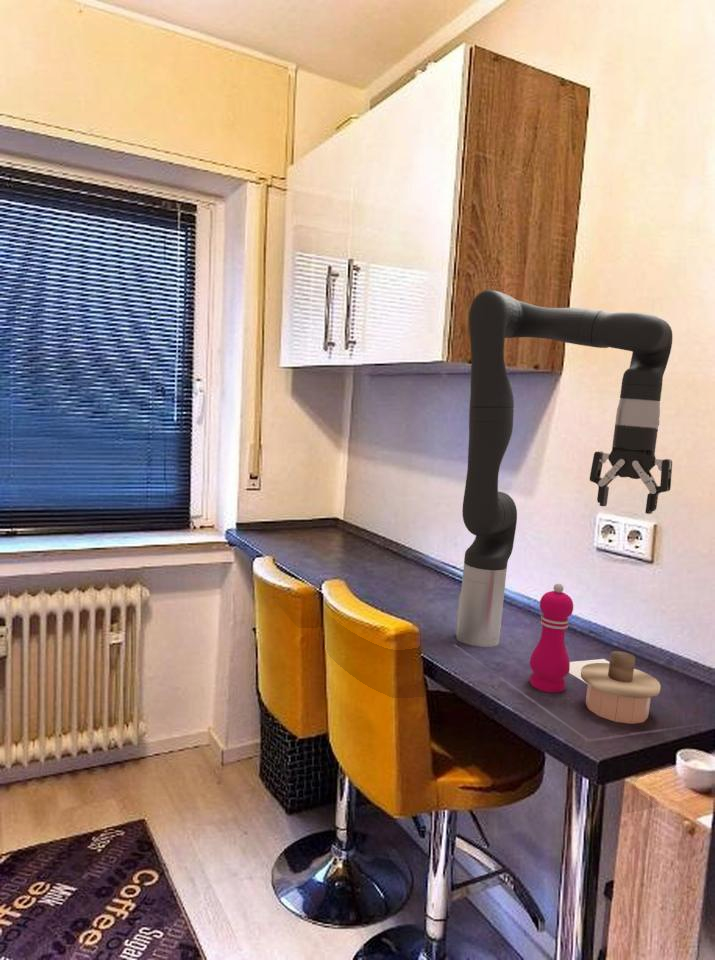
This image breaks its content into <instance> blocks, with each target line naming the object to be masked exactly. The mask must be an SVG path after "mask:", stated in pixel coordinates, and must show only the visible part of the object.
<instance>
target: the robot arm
mask: <svg viewBox="0 0 715 960" xmlns="http://www.w3.org/2000/svg"><path fill="white" fill-rule="evenodd" d="M470 304H471V305H470V307H469V313H468V328H469V329H468V330H469V341H470V343H469V344H470V362H471V363H470V364H471V365H470V396H469V409H468V410H469V411H468V413H469V415H468V416H469V417H468V419H469V420H468V449H467V450H468V452H467V470H466V477H465V478H466V480H465V484H464V485H465V487H464V492H463V493H464V494H463V501H462V520H463V521H462V522H463V523H464V525H465V528H466V529H467V530H468V532H469V533H471V534H472V535H473V536H475V538H474V540H473V542H472V544H470V546H469V547H468V548H466V550H465V552H464V561H463V562H464V563H463V569H462V570H463V571H462V582H461V589H460V590H461V591H460V593H459V595H458V604H457V611H456V612H457V615H456V624H455V632H454V633H455V635H456V640H457V641H458V642H460V643H463V644H465V645H469V646H472V647H477V648H493V647H496V646H498V645H499V643H500V635H501V627H502V626H501V625H502V617H503V608H504V598H505V592H506V591H505V588H506V581H507V569H508V562H509V559H510V557H511V555H512V553H513V548H514V542H515V537H516V536H515V535H516V529H517V521H518V510H517V505H516V503H515V500H514V499H513V498H512V497H511V496H510V495H509V494H508V493H506V492H502V491H499V471H500V466H501V464H502V461H503V458H504V456H505V455H506V451H507V449H508V446H509V443H510V441H511V439H512V434H513V428H514V411H515V409H514V408H515V406H514V405H515V402H514V394H513V390H512V387H511V383H510V379H509V375H508V371H507V368H506V364H505V353H504V350H505V339H510V338H511V339H513V338H514V339H515V338H516V339H517V338H537V339H538V338H539V339H547V340H553V341H557V342H561V343H566V344H572V345H579V346H584V347H590V348H591V347H592V348H597V349H607V348H612V349H617V350H622V351H628V352H632V355H631V358H630V363H629V367H628V368H627V369H626V370H625V371H624V373H623V375H622V381H621V388H620V396H619V400H618V401H619V402H618V406H617V409H616V415H615V420H614V421H615V423H614V430H613V438H612V439H613V440H612V445H611V446H612V447H611V448H612V449H611V451H610V453H608V452H604V451H600V450H599V451H594V453H593V457H592V458H593V459H592V464H591V468H590V469H591V470H590V475H589V481H590V482H591V483H594V484H596V485H597V486H598V491H597V498H596V501H597V503H599V506H600V507H607V505H608V498H609V489H610V487H609V484H611V482H613V481H614V480H615V479H616V478H618V477H620V478H630V479H632V480H633V479H634V480H639V479H641V482H642V483H643V485H644V486H646V489H647V490H648V494H647V498H646V504H645V512H644V513H645V514H647V515H651V514H653V512H655V511H656V510H657V507H658V506H657V505H658V500H659V494H661V493H665V492H670V491H671V487H672V473H673V460H672V459H671V458H669V459H668V458H665V459H658V458H656V455H655V453H656V446H657V438H658V431H659V426H660V421H661V420H660V418H661V417H660V415H661V407H660V405H661V397H662V389H663V378H664V376H665V375H664V373H665V371H666V368H667V365H668V362H669V358H670V354H671V351H672V346H673V331H672V327H671V326H670V324H669V322H668V321H666V320H664V319H662V318H660V317H658V316H656V315H653V314H651V313H644V312H643V313H642V312H633V311H632V312H631V311H629V312H627V311H626V312H621V311H620V312H619V311H618V312H615V311H614V312H613V311H609V310H603V309H595V308H593V309H592V308H585V307H544V306H539V305H534V304H530V303H527V302H524V301H520V300H518V299H515V298H514V297H513V296H511V295H509V294H505V293H504V292H501V291H498V290H492V289H487V290H483V291H481V292H479V293H478V294H477V295H476V296H475V297H474V299H473V300H472V302H471V303H470ZM607 460H608V461H609V463H610V465H611V466H612V467H611V468H610V469H609V470H608V471H607V472H606V473H605V475H604V476H603V477H601V475H602V469H603V464H606V462H607ZM655 466H657V469H658V471H660V484H659V485H658V483H657V482H656V480H655V477H654V476H653V474H652V473H651V470H652V469H654V467H655Z"/></svg>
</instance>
